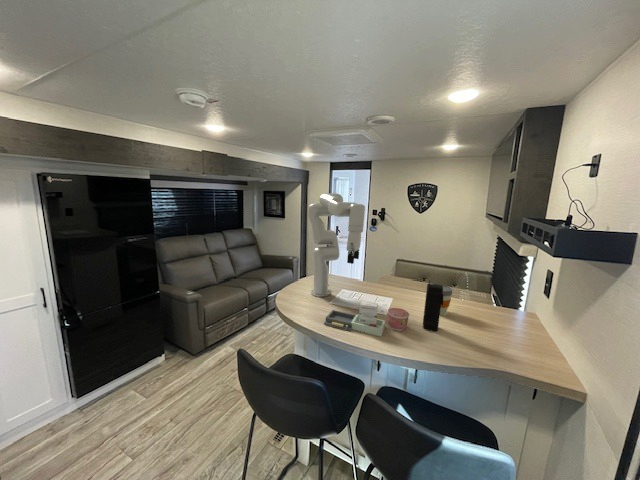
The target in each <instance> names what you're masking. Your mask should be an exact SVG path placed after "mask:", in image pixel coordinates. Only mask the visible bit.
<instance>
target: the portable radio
mask: <svg viewBox="0 0 640 480" xmlns="http://www.w3.org/2000/svg"><path fill="white" fill-rule="evenodd" d="M434 284H435V283H431V280H429V283H427V285H426V294H425V301H424V310H423V319H422V328H423V330H425V329H426V331H431V330H432V332H436V331H437V332H438V330H439V325H440V324H439V323H440V322H439V321H440V316H441V315H440V309H441V305H442V306H443V286H442V285H443V284H442V285H434Z"/></svg>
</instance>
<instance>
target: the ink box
mask: <svg viewBox="0 0 640 480" xmlns="http://www.w3.org/2000/svg"><path fill="white" fill-rule="evenodd" d="M378 308H379V307H378V303H376V302H371V301H370V302H368V301H360V303H359V311H358V313H359V314H358V315H359V323H360V324H364V325H368V326H372V327H376V324H377V319H378Z"/></svg>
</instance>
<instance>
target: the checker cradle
mask: <svg viewBox="0 0 640 480" xmlns="http://www.w3.org/2000/svg"><path fill="white" fill-rule="evenodd" d="M355 316H356V314H353V313H349V312H344V311H340V310H336V309H332V310H331V311H330V312H329V313H328V314H327V315H326V316H325V321H324V323H323V325H324V326H327V327H328V326H329V327H332V328H336V329H341V330H344V331H349V332H351V331H352V324H351V322H352V320H353V319H354V317H355Z"/></svg>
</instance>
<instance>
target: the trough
mask: <svg viewBox="0 0 640 480" xmlns="http://www.w3.org/2000/svg"><path fill="white" fill-rule="evenodd" d="M355 315H356V316H355V317H354V319H353V320H352V322H351V324H352V330H354V331H356V330H357V332H360V331H361V333H364V332H365V334H370V335H374V336H377V337H382V336H383V334H382V333H384V331H385V328H386V320H384V319H379V318H377V324H376V327H372V326H368V325H364V324H360V323H359V314H355ZM352 330H351V331H352Z"/></svg>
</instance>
